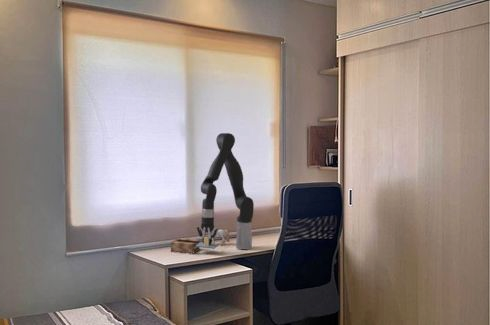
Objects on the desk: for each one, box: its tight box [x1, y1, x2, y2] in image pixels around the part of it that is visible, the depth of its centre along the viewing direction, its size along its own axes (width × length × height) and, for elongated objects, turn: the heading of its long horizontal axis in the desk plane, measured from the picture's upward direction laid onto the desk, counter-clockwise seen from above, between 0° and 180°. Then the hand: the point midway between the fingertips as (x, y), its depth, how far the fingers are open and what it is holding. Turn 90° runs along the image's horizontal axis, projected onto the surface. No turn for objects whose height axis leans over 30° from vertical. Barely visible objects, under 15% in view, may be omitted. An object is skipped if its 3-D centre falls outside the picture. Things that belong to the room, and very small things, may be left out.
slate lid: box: [196, 235, 220, 250], centre depth 302 cm, size 12×8×6 cm
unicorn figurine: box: [206, 229, 231, 246], centre depth 321 cm, size 7×20×13 cm, turn 119°
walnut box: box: [170, 237, 200, 254], centre depth 306 cm, size 14×12×6 cm
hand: (207, 243), depth 302 cm, fingers closed on slate lid, 3 cm apart
